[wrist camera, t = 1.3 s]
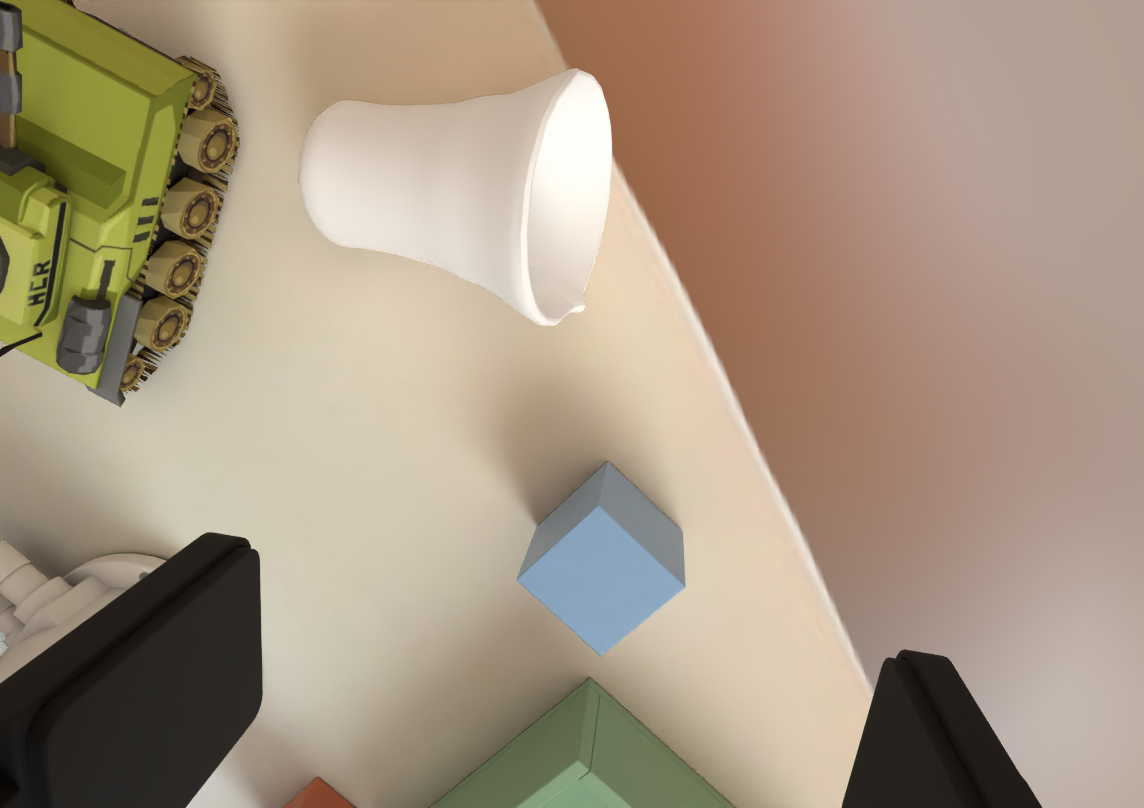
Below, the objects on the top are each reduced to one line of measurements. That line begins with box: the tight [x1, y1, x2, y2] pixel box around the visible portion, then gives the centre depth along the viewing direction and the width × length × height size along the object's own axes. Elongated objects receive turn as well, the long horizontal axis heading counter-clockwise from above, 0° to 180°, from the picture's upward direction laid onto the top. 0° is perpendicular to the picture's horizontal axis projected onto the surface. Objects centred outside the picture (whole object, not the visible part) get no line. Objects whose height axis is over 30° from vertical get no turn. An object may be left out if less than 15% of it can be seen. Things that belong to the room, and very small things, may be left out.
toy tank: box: [0, 0, 240, 407], centre depth 27 cm, size 8×15×10 cm, turn 153°
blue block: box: [517, 461, 685, 656], centre depth 32 cm, size 5×5×5 cm
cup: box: [298, 68, 612, 326], centre depth 27 cm, size 9×9×10 cm
